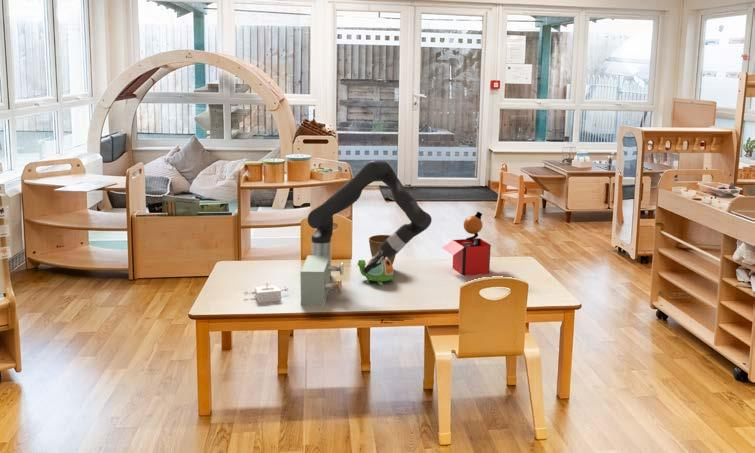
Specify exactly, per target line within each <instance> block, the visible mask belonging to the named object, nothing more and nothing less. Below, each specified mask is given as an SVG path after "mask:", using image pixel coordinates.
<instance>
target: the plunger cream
mask: <svg viewBox="0 0 755 453" xmlns="http://www.w3.org/2000/svg"><path fill="white" fill-rule="evenodd" d="M344 270H345V269H344V262H341V261H340V264H339V265H331V266H328V271H331V272H339V275H340V276H342V275H343V276H344Z"/></svg>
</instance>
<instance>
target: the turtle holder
mask: <svg viewBox="0 0 755 453" xmlns="http://www.w3.org/2000/svg"><path fill="white" fill-rule="evenodd" d="M372 258H373V257H372V256H371V259H370V260H368V262H367V264H366V260H364V259H359V260H358V262H357V264H356V265H357V266H358V267H359V272H360V275H362V276H364V277H365V278H366V283H367V284H371V281H372V282H373V281H374V282H377V285H379V286H384V283H383V282H387V281H388V282H394V280H393V278H394V266H393V265H392V264H391V262H390V261H389V259H388V258H387V257H386V258H385V260H384V261H383V262H381V264H380V265H379V266H377V267H375V268H372V269H371V270H370V271H369V272H368V273H365V272H364V271H363V269H364V268H365V267H366V266H367V265H368V264H369V262H370V261H371V260H372Z"/></svg>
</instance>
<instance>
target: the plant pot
mask: <svg viewBox="0 0 755 453" xmlns="http://www.w3.org/2000/svg"><path fill="white" fill-rule="evenodd" d="M391 235H392V234H391ZM391 235H389V234H376V235H372V236H370V237H368V243H369V248H370V249H369V250H370V254H371V258H372V257H374V256H375V255H376V254H377V252H380V251H382V250H381V248H380V245H381V244H382V243H383V242H384V241H385V240H386V239H387V238H388V237H390V236H391ZM396 255H397V254H396ZM396 255H395V256H394V257H393V258H389V257H388V256H386V257H387V258H388V259H389V261H390V262H391V264H392V266H393V264H394V262H395V259H396Z"/></svg>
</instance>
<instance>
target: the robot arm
mask: <svg viewBox="0 0 755 453" xmlns="http://www.w3.org/2000/svg"><path fill="white" fill-rule="evenodd" d="M373 182H382V183H384V184H385V185H386V186H387V187H388V188H389V189H390V192H391V193H392V194H391V195H392V198H393V201H394V202H395V203H396V205H397V207H399V208H400V209H401V211H402V212H404V213H405V215H406V216H407V218H408V219H409V221H410V222H409V223H405V224H403V225H401V226H400V227H399V228H398V229H396V231H394V232H393V233H392V234H391V236H390V237H388V238H387V239H386V240H385V241H384V242H383V243H382V244H381V245H380V248H381V250H382V251H380V252H377V254H376V255H375V256H374V257H373V258H372V257H371V259H372V260H371V259H370V260H371V261H370V262H369V261H368V262H369V264H368V265H367V264H366V265H365V268H364V269H363V271H364V272H365V273H368V272H369V271H370V270H371V269H372V268H375V267H377V266H379V265H380V264H381V262H383V261H384V260H385V258H386V256H388V257H389V258H393V257H394V256H395V255H397V254H398V253H399V252H401V250H402V249H403V248H405V247H406V245H407V244H408V243H409V242H410V241H411V240H413V238H414V237H416V236H418V235H420V234H421V233H422V232H424V231H426V230H427V229H428V228H429V227H430V225H431V224H432V216H431V215H430V214H429V213H428V212H426V211H424V210H423V208H421V207H420V206H419V205H418V202H417V201H416V199H415V198H414V197H413V196H412V194H410V193H409V191H408V190H407V189H406V188H405V186H404V184H402V182H401V181H400V179H399V177H398V176H397V175H396V173H395V171H394V170H393V167H391V165H390V164H389V163H388V162H387V161H385V160H370V161H368V162H367V163H366V164H365V165H364V166H363V167H362V168H361V169H360V170H359V171H358V173H357V174H355V176H353V177H352V178H350V179H349V181H347V182H346V183H345V184H343V185H342V186H341V187H340V188H339V189H338V190H336V192H334V193H333V194H332V195H330V197H328V198H327V200H326V201H325V202H323V203H321V204H320V205H318V206H317V207H316V208H314V209H312V210H311V211H310V212H309V213H308V215H307V224H308V226H309V227H311V228H312V229H315V232H314V233H313V234H312V235H311V255H321V256H330V266H332V237H333V229H334V216H335V215H337V214H338V213H340V212H343V211H344V210H346V209H348V208H349V207H351V206H352V205H354V204H355V203H356V202H358V200H359V199H360V197H361V195H362V192H363V190H364V189H365V188H366V187H367V186H369V185H371V184H372V183H373ZM395 257H396V256H395ZM331 276H332V271H330V277H331Z"/></svg>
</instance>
